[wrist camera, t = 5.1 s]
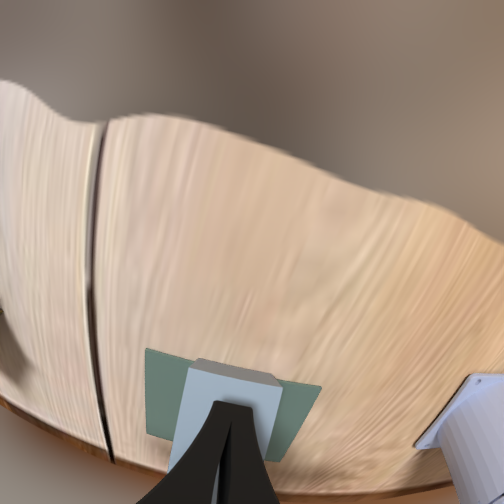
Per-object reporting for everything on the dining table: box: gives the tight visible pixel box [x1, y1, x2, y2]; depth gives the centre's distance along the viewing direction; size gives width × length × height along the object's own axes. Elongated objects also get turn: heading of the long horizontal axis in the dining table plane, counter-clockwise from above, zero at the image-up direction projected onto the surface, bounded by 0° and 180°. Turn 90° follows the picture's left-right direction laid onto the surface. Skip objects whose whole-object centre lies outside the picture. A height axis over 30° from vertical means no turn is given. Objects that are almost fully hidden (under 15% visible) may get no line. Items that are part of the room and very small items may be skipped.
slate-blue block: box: [167, 358, 283, 504], centre depth 13 cm, size 4×4×8 cm
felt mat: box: [145, 348, 322, 462], centre depth 18 cm, size 10×9×1 cm
